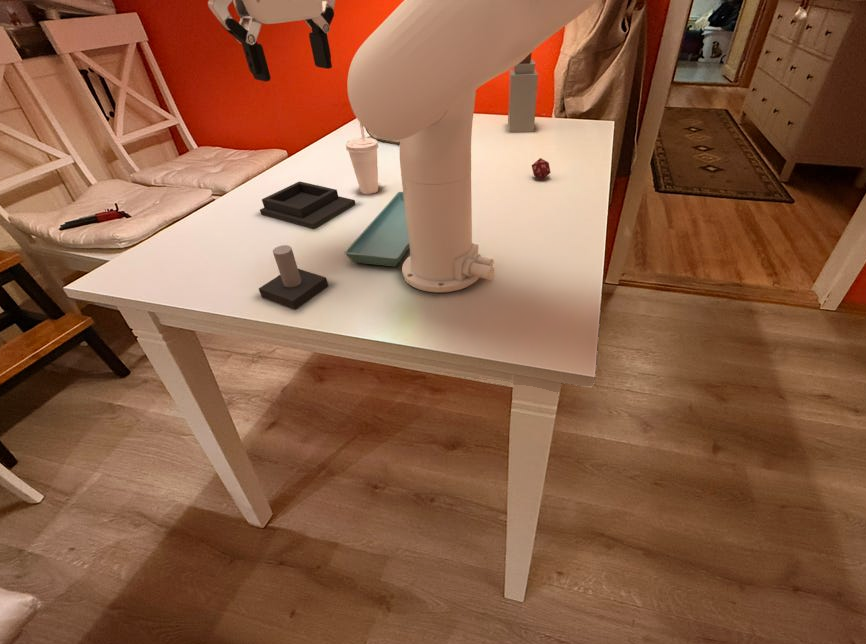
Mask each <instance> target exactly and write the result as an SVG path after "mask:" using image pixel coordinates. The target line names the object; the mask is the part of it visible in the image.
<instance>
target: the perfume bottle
mask: <svg viewBox="0 0 866 644" xmlns="http://www.w3.org/2000/svg"><path fill="white" fill-rule="evenodd" d="M532 55H533V51H532V52H531V53H530V54H529V55H528V56H527V57H526V58H525V59H524V60H523V61H522V62H520V63H519V64H518V65H516V66H515V67H513V69H510V70H509V80H508V105H507V106H508V108H507V128H508V129H507V130H508V133H533V132H535V123H536V110H537V109H536V108H537V93H538V79H539V74H538V71H537V70H536V62H535V60H534V59H532Z"/></svg>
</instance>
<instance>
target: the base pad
mask: <svg viewBox="0 0 866 644" xmlns="http://www.w3.org/2000/svg"><path fill="white" fill-rule="evenodd" d="M261 202H262V205H263V207H262V208H260V209H259V212H260V214H261V215H262V216H266V217H268V218H269V217H270V218H273V219H277V220H280V221H284V222H288V223H291V224H295V225H298V226H301V227H306V228H310V229H313V230H315V229H317V228H318V227H320V226H322V225H323V224H325V223H327V222H329V221H330V220H332V219H334V218H335V217H337V216H339V215H340V214H342V213H344V212H345V211H347V210H349V209H351V208H353V207H354V206H355V205H356V200H355V199H352V198H349V197H348V198H347V197H343V196H339V193H338V190H337V189H336V188H330V187H327V186H321V185H318V184H313V183H308V182H305V181H297V182H294V183H293V184H290V185H289V186H286V187H284V188H282V189H280V190H278V191H276V192H273V193H271V194H270V195H268V196H265V197H264V198H262V199H261Z"/></svg>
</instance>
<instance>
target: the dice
mask: <svg viewBox="0 0 866 644" xmlns="http://www.w3.org/2000/svg"><path fill="white" fill-rule="evenodd" d="M531 169H532V174H533V176H534V177H536V178H538V179H539V180H541V181H543V180H544V179H545V178H546V177H547V176H549V175H551V169H550V163H549V161H547V160H545V159H544V158H541V157H540V158H538V160H536V161H535V162H534V163H532V164H531Z"/></svg>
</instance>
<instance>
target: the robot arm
mask: <svg viewBox="0 0 866 644" xmlns="http://www.w3.org/2000/svg"><path fill="white" fill-rule="evenodd" d="M598 1H599V0H403V1H402V2H401V3H400V4H399V5H398V6H397V7H396V8H395V9H394V10H393V11H392V12H391V13H390V14H389V15H388V16H387V18H385V19H384V21H382V23H381V24H380V25H379V26H378V27H377V28H376V29H374V31H373V32H372V33H371V34H370V35H368V37H367V38H366V39H365V40H364V41H363V43H362V44H361V45H360V46H359V48H358V49H357V51H356V52H355V54H354V56H353V58H352V60H351V63H350V64H349V65H350V66H349V69H348V72H347V73H348V74H347V82H346V83H347V84H346V85H347V96H348V102H349V105H350V107H351V108H350V109H351V110H352V112H353V115H354V116H355V118H356V120H357V121H358V122H359V124H360V123H361V124H362V125H363V128H364V129H365V128H366V129H367V130H368V131H370V132H371V133H373V134H374V135H376V136H378V137H381V138H384V139H389V140H400V144H399V149H398V150H399V165H400V177H401V185H402V192H403V195H404V204H405V213H406V221H407V230H408V239H409V248H408V249H409V256H407V258H405V259H404V261H403V263H402V265H401V272H402V277H403V279H404V281H405V282H406V283H407V284H408V285H409V286H412V287H413V288H415V289H417V290H420V291H424V292H427V293H428V292H429V293H450V292H451V293H452V292H455V291H456V292H457V291H460V290H462V289H465V288H468V287H470V286H471V285H473V284H475V283H476V282H477V281H478V280H479V279H480V278H481V279H486V280H489V281H490V280H492V279H493V277H494V275H495V267H494V265H495V264H494V259H493V258H491V257H485V256H481V254H480V253H479V244H478V243H474V242H473V214H472V213H473V212H472V209H473V207H472V205H473V204H472V137H473V136H472V134H473V121H474V112H475V104H476V95H477V90H478V89H479V88H480V87H482V86H484V85H485V84H487V83H488V82H490V81H491V80H493V79H495V78H496V77H498V76H500V75H501V76H502V75H503V74H504V73H506V72H508V71H510V70H512V69H514V67H515V66H516V65H518V64H519V63H520V62H522V61H523V60H524V59H525V58H526V57H527V56H528V55H529V54H530V53H531V52H532V53H533V52H534V51H535V50H536V49H537V48H538V47H539V46H540V45H542V44H543V43H544V42H546V41H547V40H548V39H550V38H551V37H552V36H554V34H556V33H558V32H559V31H560V30H561V29H563V28H565V27H566V26H568V24H570V23H571V22H573V21H574V20H576V18H579V16H581V15H582V14H583V13H584V12H585V11H586V10H588V9H589V8H590V7H592V6H593V5H595V4H596V3H597V2H598ZM231 3H233V6H234V8H235V11H236V13H237V16H238V17H239V18H240V19H239V22H238V21H237V20H236V19H234V18H233V17H232V15H231V13H230V11H229V6H230V5H231ZM207 6H208V8H209V10H210V12H212V14H213V15H214V16H215V17H216V19H217V20H218V21H219V23H220V24H221V26H222V29H224V31H226V32H227V33H229V34H230V36H232V37H234V39H235V40H236V41H237V42H238V43H239V44H241V46H242V50H243V52H244V56H245V59H246V63H247V66H248V69H249V72H250V73H251V74H252V76H253V78H254V79H255V80H256V81H260V82H261V81H262V82H265V83H266V82H270V81H271V79H272V78H271V75H270V69H269V66H268V63H267V59H266V55H265V51H264V47H263V46H262V45H263V44H261V43H258V42H257V40H258V37H259V34H260V32H261V27H262V25H263V24H265V25H271V24H281V23H289V22H296V21H304V23H305V24H306V25H307V26H308V27H309V29H310V30H311V32H308V37H309V42H310V47H311V53H312V57H313V62H314V66H315V67H317V68H321V69H328V70H329V69H332V68H333V64H332V53H331V49H330V43H329V37H328V34H330V32H331V23H332V22H333V19H334V16H335V10H334V9H335V6H336V0H208V1H207ZM366 129H365V130H366Z"/></svg>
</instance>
